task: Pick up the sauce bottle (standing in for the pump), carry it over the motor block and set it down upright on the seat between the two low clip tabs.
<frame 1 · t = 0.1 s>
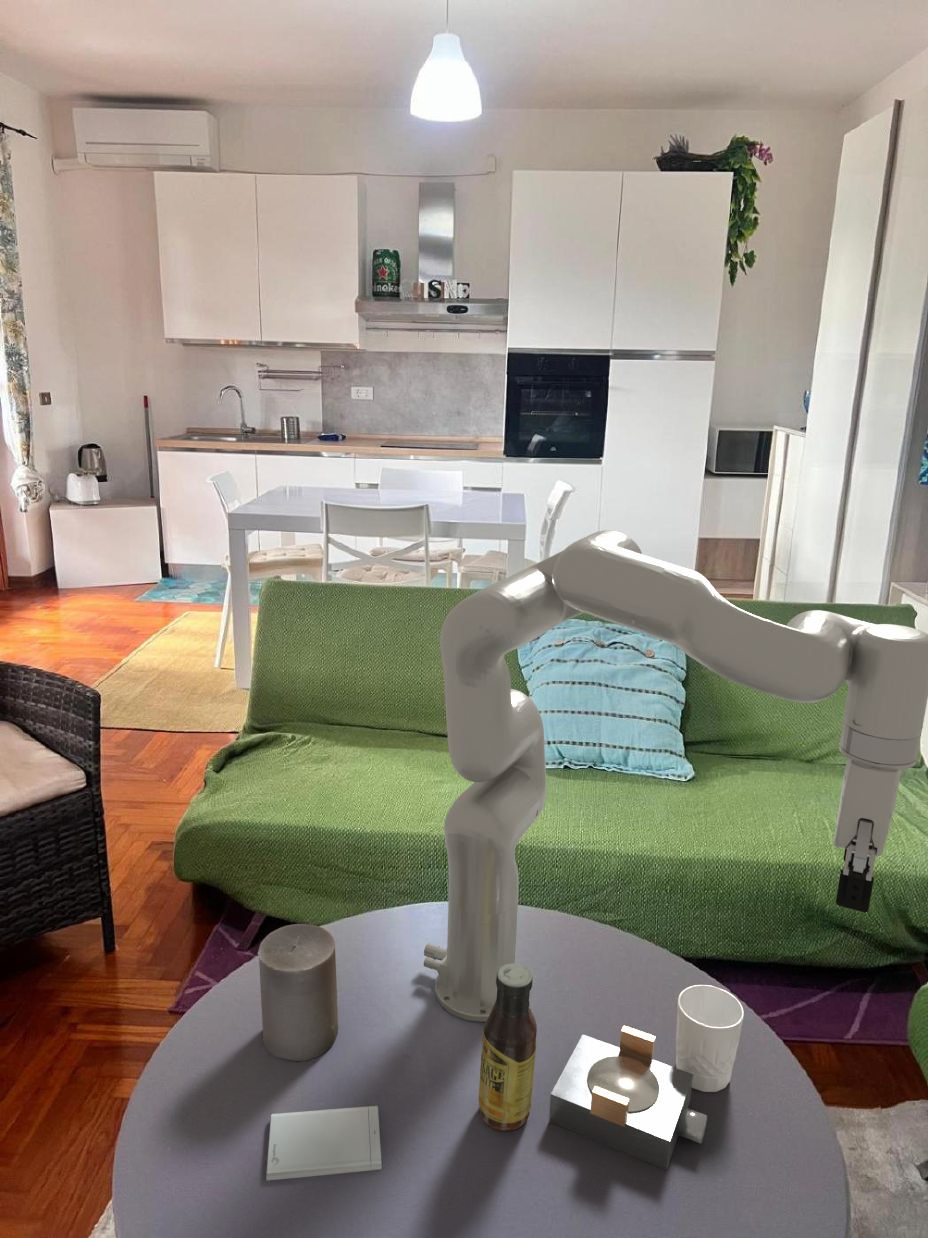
hand: (855, 885, 100), 31 cm above the table, fingers open, 9 cm apart
white cup: (702, 1073, 115), on the table
sauce bottle: (504, 1116, 108), on the table
pillar candle: (299, 1037, 119), on the table
hard drive: (324, 1149, 103), on the table
motor block: (620, 1111, 108), on the table
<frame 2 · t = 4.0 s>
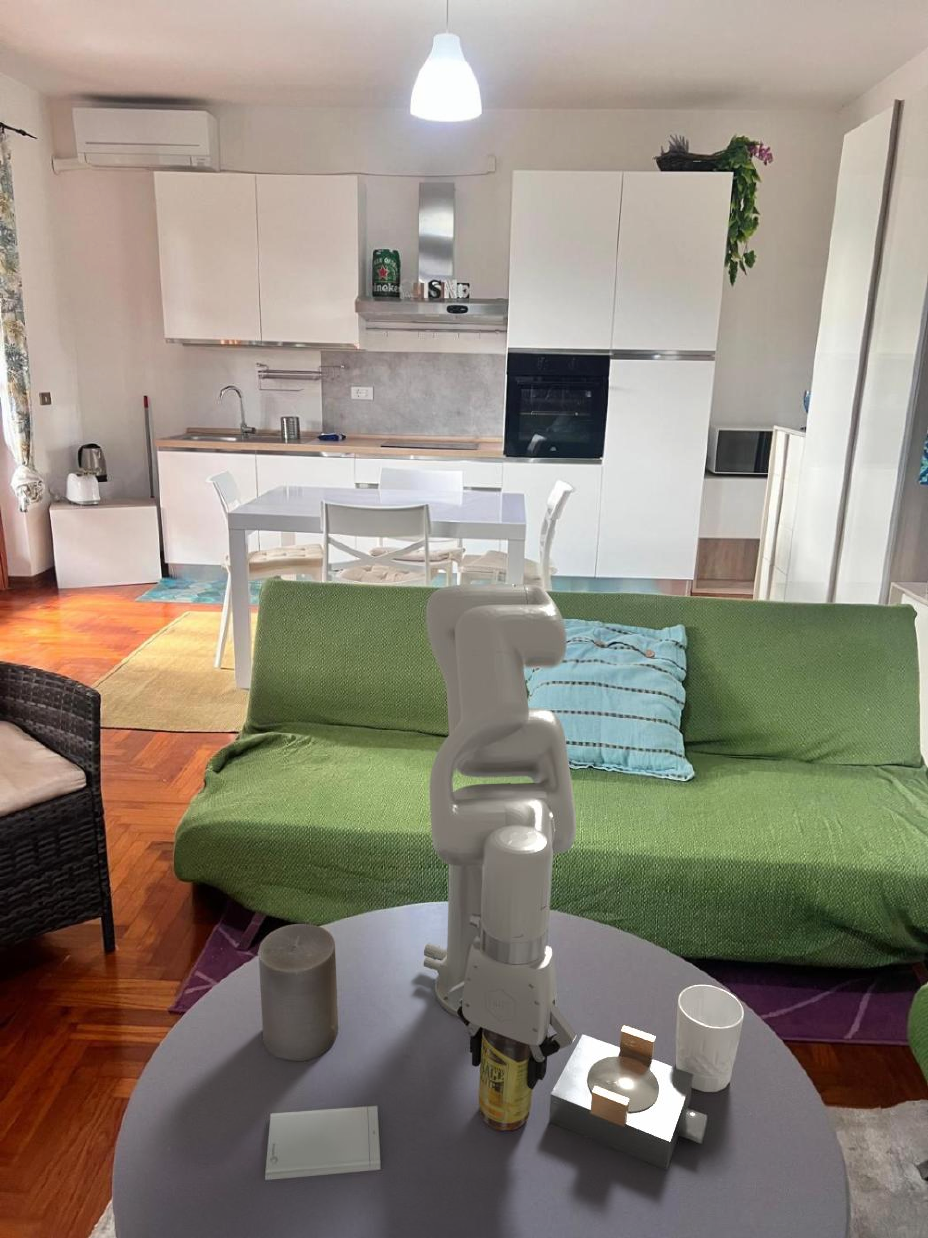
hand: (507, 1068, 106), 7 cm above the table, fingers closed on sauce bottle, 6 cm apart
sauce bottle: (504, 1116, 108), on the table, touching gripper
everything else where it was.
when the fingers open (11 cm above the table, at t = 9.2 s): sauce bottle stays where it is, resting on motor block.
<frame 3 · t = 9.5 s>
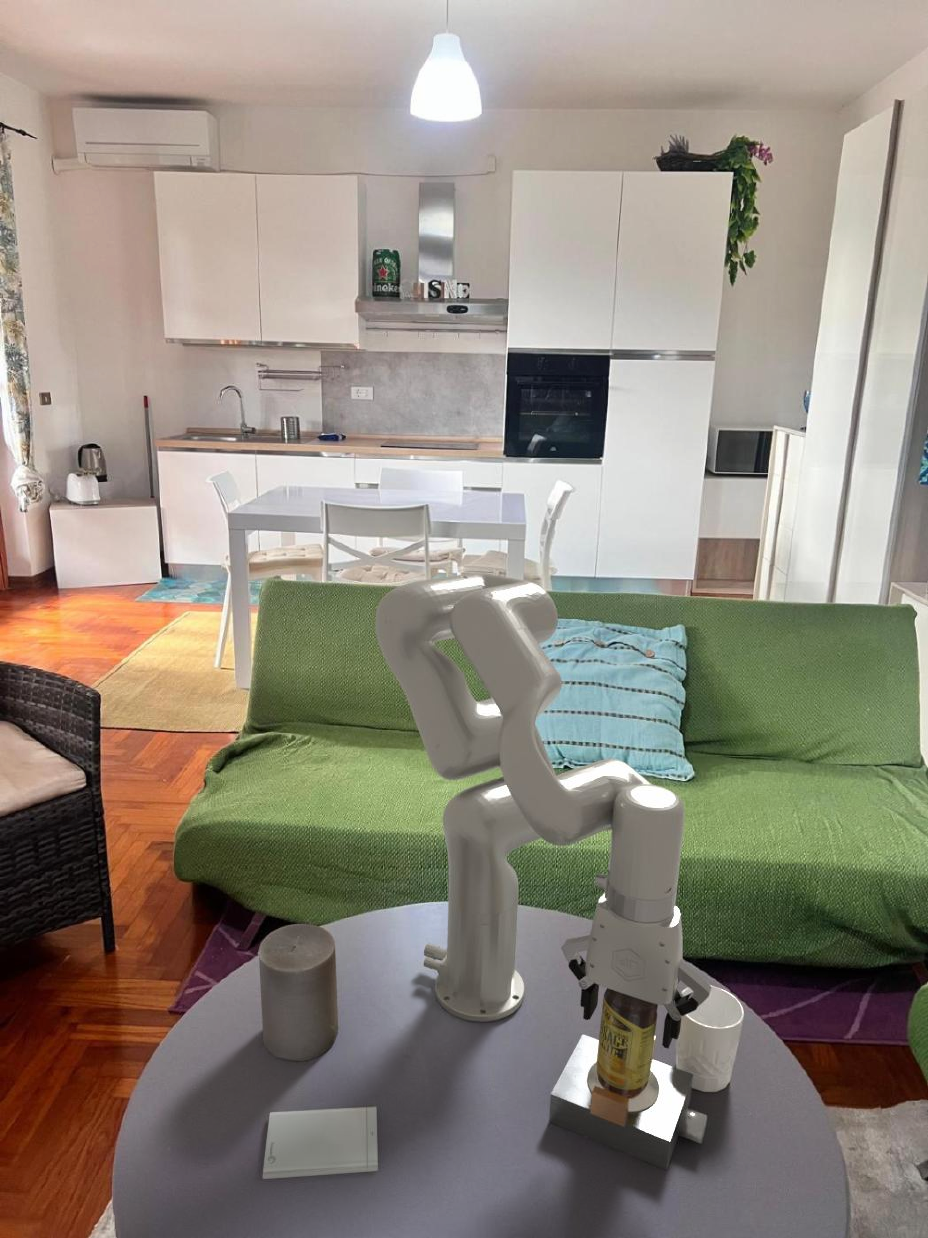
hand: (628, 1026, 105), 12 cm above the table, fingers open, 9 cm apart
sauce bottle: (622, 1083, 107), point 4 cm above the table, touching motor block
everything else where it was.
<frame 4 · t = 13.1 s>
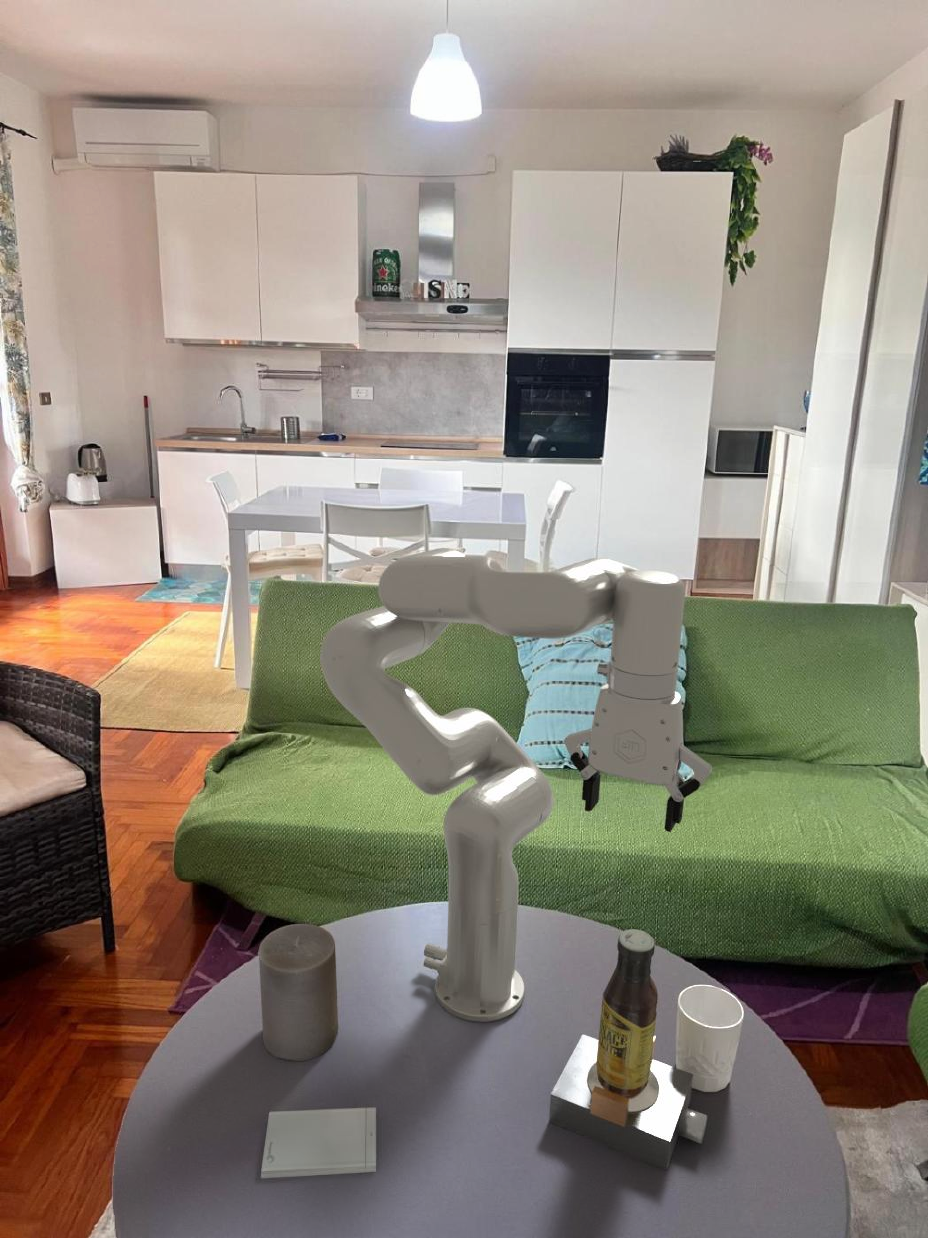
hand: (630, 816, 107), 34 cm above the table, fingers open, 9 cm apart
nothing on the table moved.
at the end: sauce bottle inside the target area on the motor block (0.1 cm from its centre), point 4.1 cm above the motor block's base; sauce bottle tilted 1°; the gripper is holding nothing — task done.
